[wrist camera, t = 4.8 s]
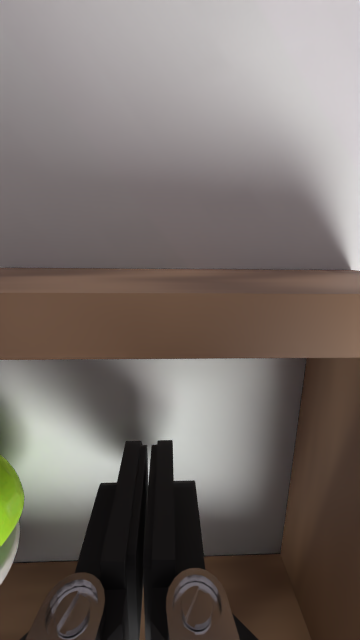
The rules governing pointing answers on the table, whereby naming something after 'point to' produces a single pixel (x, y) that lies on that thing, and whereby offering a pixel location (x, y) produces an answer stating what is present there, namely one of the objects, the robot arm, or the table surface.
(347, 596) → the u-shaped wooden frame
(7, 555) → the rainbow roller toy
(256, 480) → the table surface
